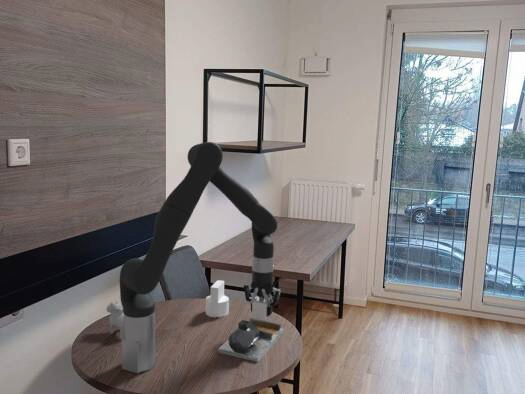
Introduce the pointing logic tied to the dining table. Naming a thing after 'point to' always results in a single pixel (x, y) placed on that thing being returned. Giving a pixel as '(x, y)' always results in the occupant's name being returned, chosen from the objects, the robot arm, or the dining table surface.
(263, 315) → the cube with round knob
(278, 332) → the motor mount
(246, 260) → the dining table surface
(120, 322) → the dog figurine
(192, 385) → the dining table surface
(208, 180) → the robot arm
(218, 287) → the white appliance knob
